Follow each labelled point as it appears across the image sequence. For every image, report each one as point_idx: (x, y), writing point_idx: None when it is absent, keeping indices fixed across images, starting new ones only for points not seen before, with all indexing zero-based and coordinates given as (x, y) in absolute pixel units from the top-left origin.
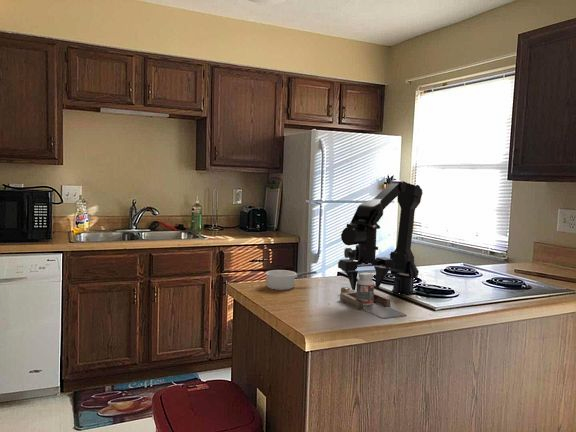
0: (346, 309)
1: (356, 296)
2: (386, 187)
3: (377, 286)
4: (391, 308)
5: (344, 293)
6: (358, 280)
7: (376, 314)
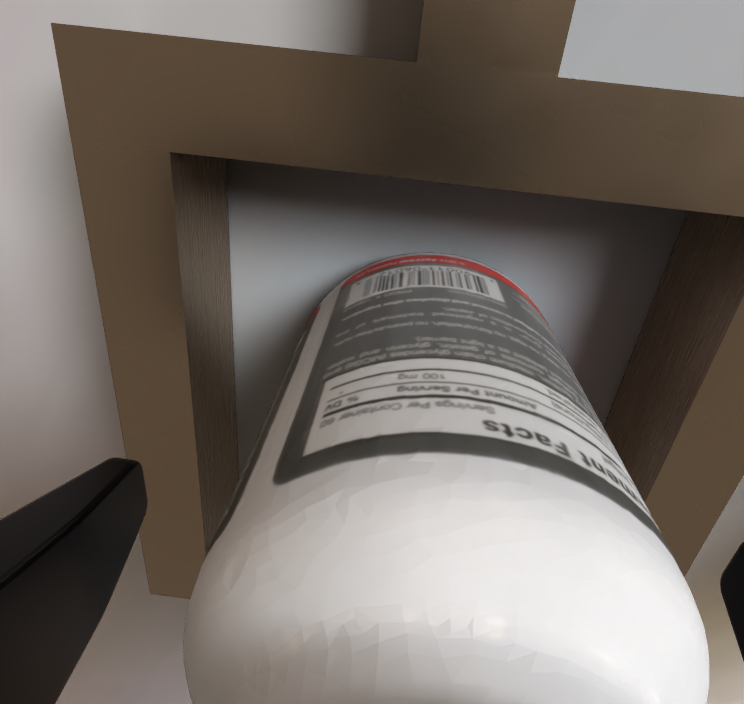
0: (59, 454)
1: (291, 361)
2: None
3: (738, 630)
4: None
5: (138, 112)
6: (213, 662)
7: None
